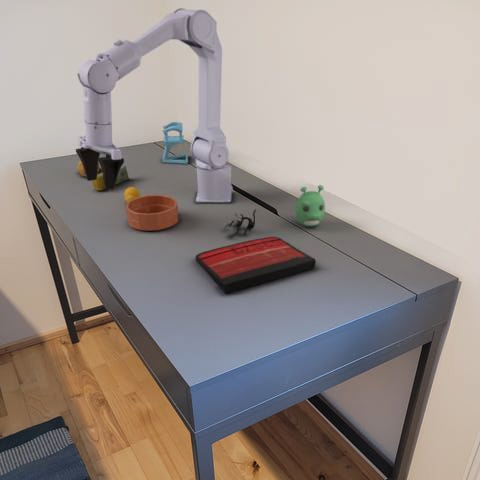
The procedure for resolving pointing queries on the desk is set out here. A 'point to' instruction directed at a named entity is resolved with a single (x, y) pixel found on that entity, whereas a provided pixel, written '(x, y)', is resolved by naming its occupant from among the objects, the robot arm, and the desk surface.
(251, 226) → the creature
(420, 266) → the desk surface
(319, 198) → the alien toy
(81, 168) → the pastry
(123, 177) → the medication box
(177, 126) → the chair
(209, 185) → the robot arm
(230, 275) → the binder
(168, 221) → the bowl
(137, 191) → the blob
